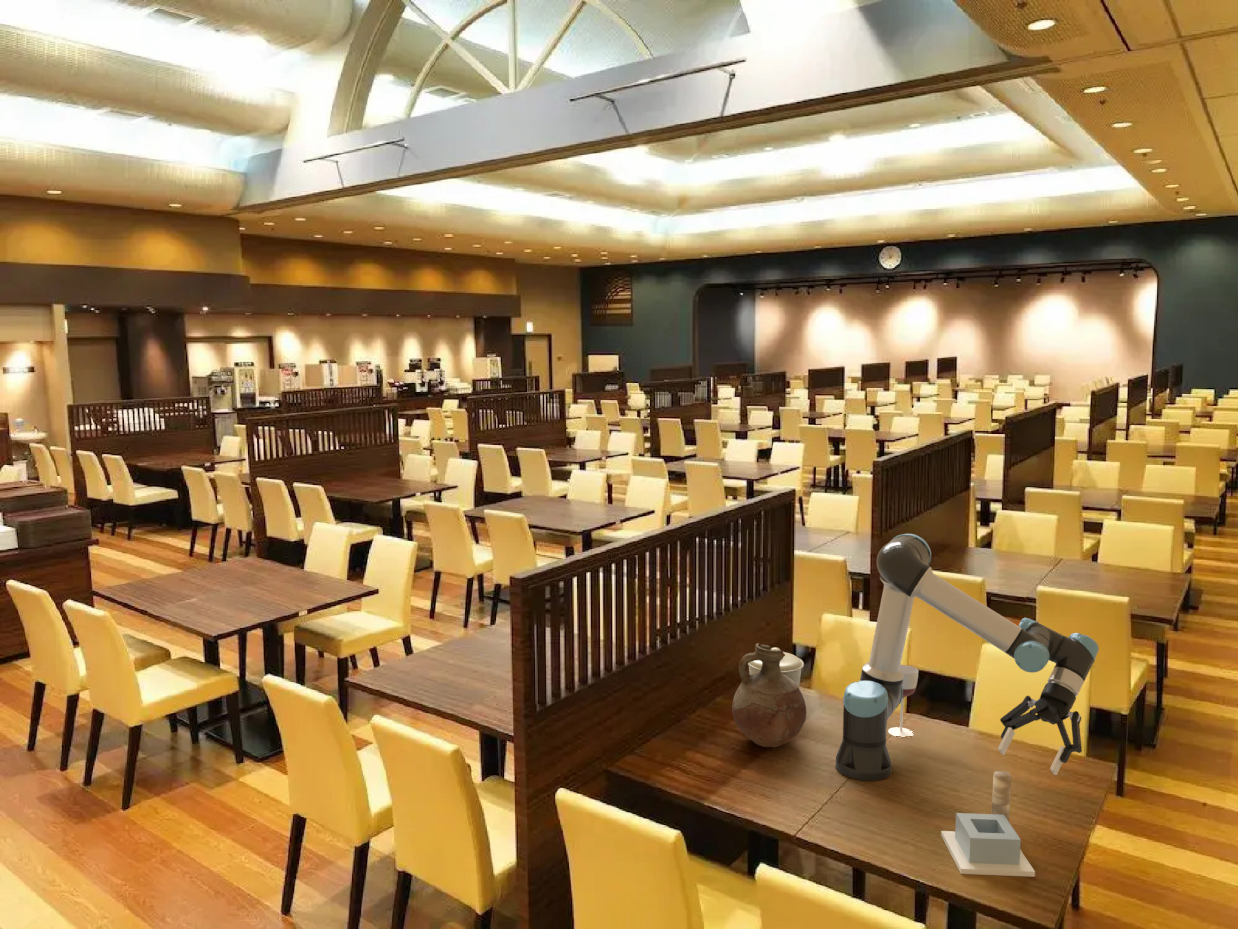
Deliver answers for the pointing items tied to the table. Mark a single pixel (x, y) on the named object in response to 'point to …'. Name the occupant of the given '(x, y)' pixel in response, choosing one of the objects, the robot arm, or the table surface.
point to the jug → (768, 701)
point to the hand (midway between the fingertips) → (1026, 762)
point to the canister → (782, 666)
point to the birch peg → (1001, 793)
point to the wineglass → (908, 689)
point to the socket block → (986, 846)
